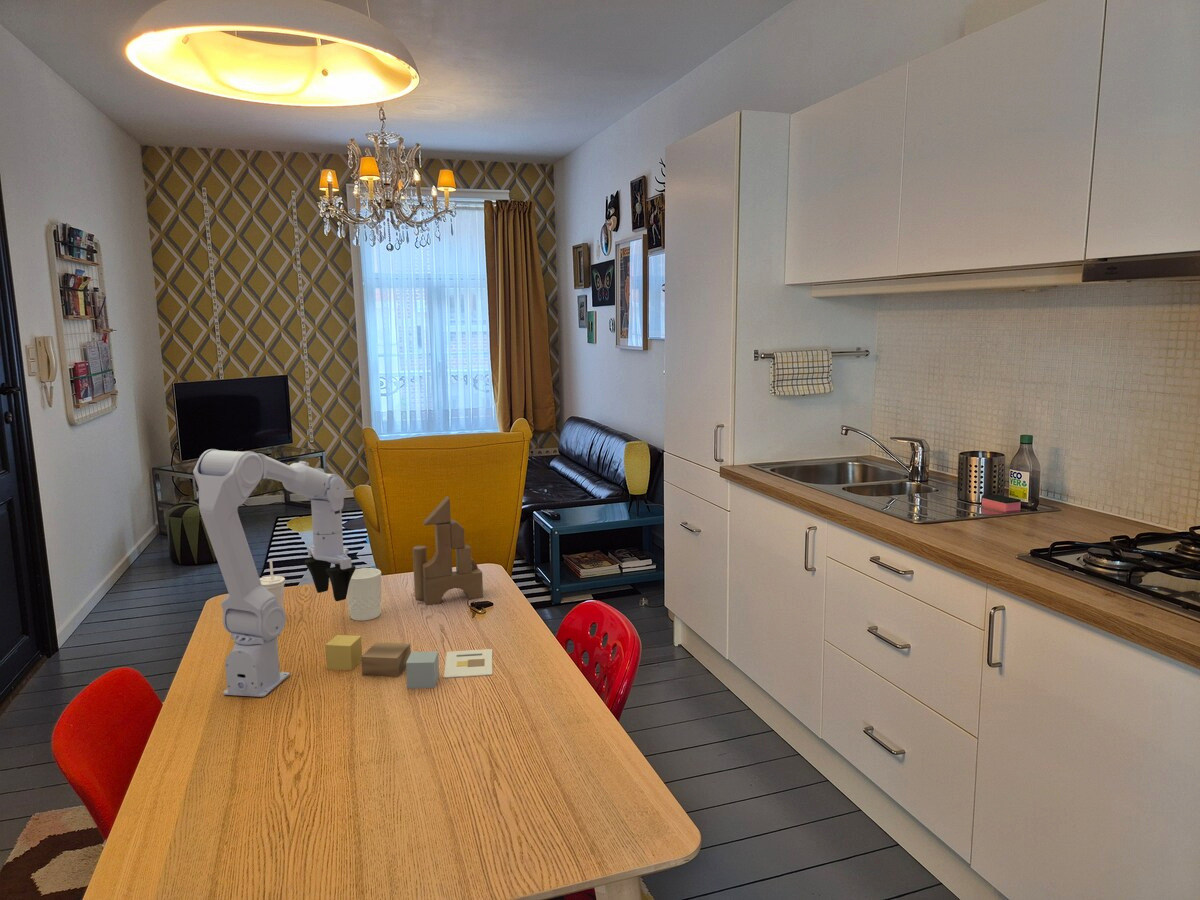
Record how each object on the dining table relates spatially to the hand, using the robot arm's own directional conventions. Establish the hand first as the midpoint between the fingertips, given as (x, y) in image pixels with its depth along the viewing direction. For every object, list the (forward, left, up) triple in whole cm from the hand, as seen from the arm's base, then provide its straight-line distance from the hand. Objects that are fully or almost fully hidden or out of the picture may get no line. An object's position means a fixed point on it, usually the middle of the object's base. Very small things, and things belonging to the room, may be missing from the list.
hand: (331, 595), depth 169 cm
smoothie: (+10, +19, -10) cm, 24 cm away
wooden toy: (+30, -15, -10) cm, 35 cm away
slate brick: (-16, -25, -10) cm, 32 cm away
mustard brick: (-10, -7, -10) cm, 16 cm away
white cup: (+16, 0, -10) cm, 19 cm away
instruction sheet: (-7, -31, -10) cm, 33 cm away
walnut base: (-11, -16, -10) cm, 22 cm away
